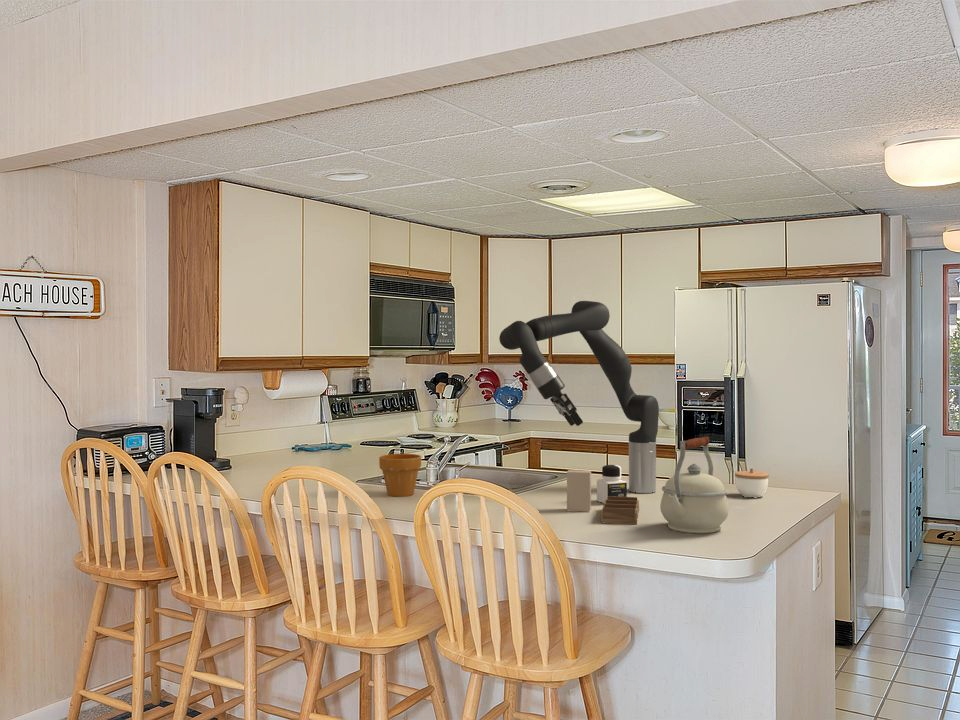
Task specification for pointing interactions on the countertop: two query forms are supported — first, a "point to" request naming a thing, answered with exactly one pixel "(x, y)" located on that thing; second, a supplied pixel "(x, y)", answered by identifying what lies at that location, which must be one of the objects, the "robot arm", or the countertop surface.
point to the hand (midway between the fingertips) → (577, 424)
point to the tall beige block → (578, 490)
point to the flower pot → (400, 473)
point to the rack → (620, 510)
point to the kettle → (694, 495)
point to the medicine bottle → (611, 483)
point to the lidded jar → (751, 483)
